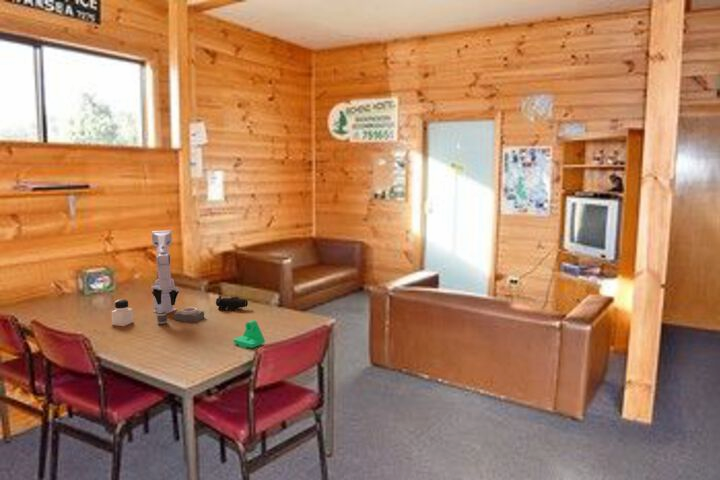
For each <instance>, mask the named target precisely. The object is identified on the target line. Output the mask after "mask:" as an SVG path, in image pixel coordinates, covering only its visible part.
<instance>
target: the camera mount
mask: <svg viewBox="0 0 720 480" xmlns="http://www.w3.org/2000/svg"><path fill="white" fill-rule="evenodd" d="M258 324H259V323H258V322H257V321H256V320H254V319H253V320H250V321H248V322H246V323H245V330H244V333H243V334H242V335H241V336H238V337H235V338H233V344H236V345H238V347H241V348H243V349H247V348H248V349H249V348H255V347H257V346H260V345H263V344H265V341H266V340H265V337H264V336H263V333H262V331H261V328H260V327H259V326H260V325H258Z"/></svg>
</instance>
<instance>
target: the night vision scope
mask: <svg viewBox="0 0 720 480" xmlns="http://www.w3.org/2000/svg"><path fill="white" fill-rule="evenodd" d="M248 303H249V302H248V300H247V299H244V298H239V297H237V296H231V297H222V295H219V296H218V298H216V301H215V305H216V307H218V311H224V312H225V311H230V312H235V311H236V309H240V308H246V307H248V305H249V304H248Z"/></svg>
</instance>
